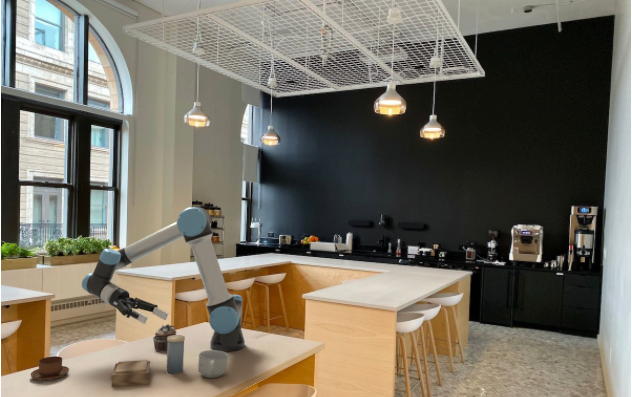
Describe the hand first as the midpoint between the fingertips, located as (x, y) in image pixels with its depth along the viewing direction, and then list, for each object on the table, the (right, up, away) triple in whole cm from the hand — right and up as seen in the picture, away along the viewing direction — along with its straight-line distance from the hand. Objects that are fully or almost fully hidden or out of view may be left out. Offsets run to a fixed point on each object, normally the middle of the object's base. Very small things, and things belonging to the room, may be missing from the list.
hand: (156, 318), depth 180 cm
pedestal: (-4, -18, -15) cm, 23 cm away
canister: (+9, -18, -5) cm, 21 cm away
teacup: (+24, -19, -10) cm, 32 cm away
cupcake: (-4, -19, +21) cm, 28 cm away
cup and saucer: (-33, -17, -15) cm, 40 cm away
